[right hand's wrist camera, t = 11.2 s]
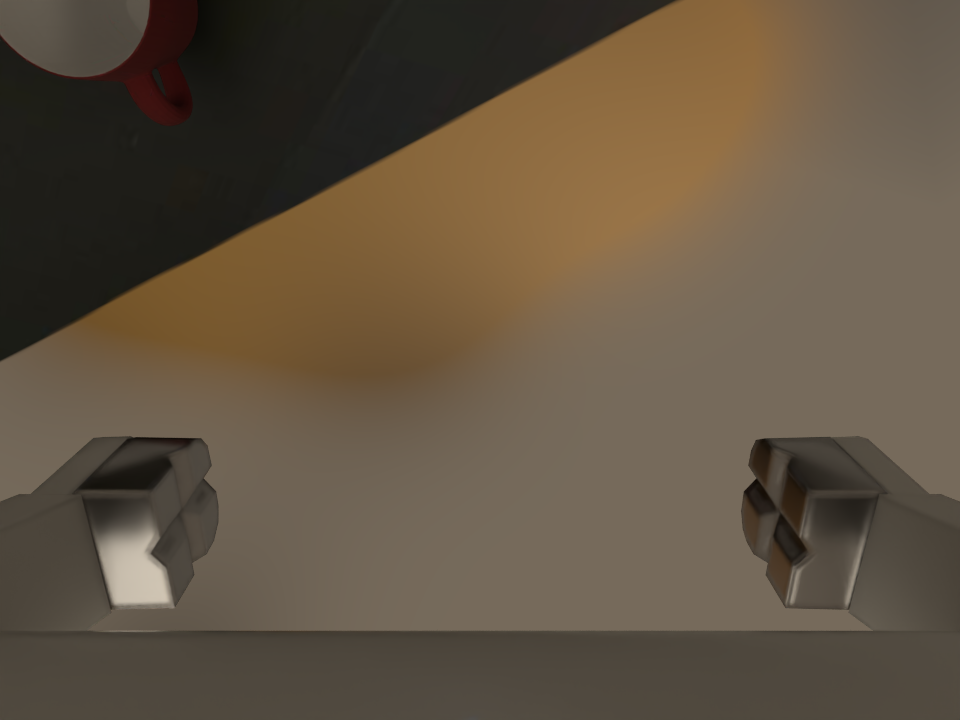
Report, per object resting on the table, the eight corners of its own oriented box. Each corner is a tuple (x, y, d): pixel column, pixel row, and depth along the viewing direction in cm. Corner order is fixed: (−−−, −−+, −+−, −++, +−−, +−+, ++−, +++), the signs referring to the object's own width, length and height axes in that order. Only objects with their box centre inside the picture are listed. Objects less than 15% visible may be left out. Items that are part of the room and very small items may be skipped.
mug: (278, 83, 41) (219, 81, 32) (169, 143, 42) (81, 159, 33) (176, -103, 37) (75, -166, 28) (60, -30, 39) (-73, -67, 29)
